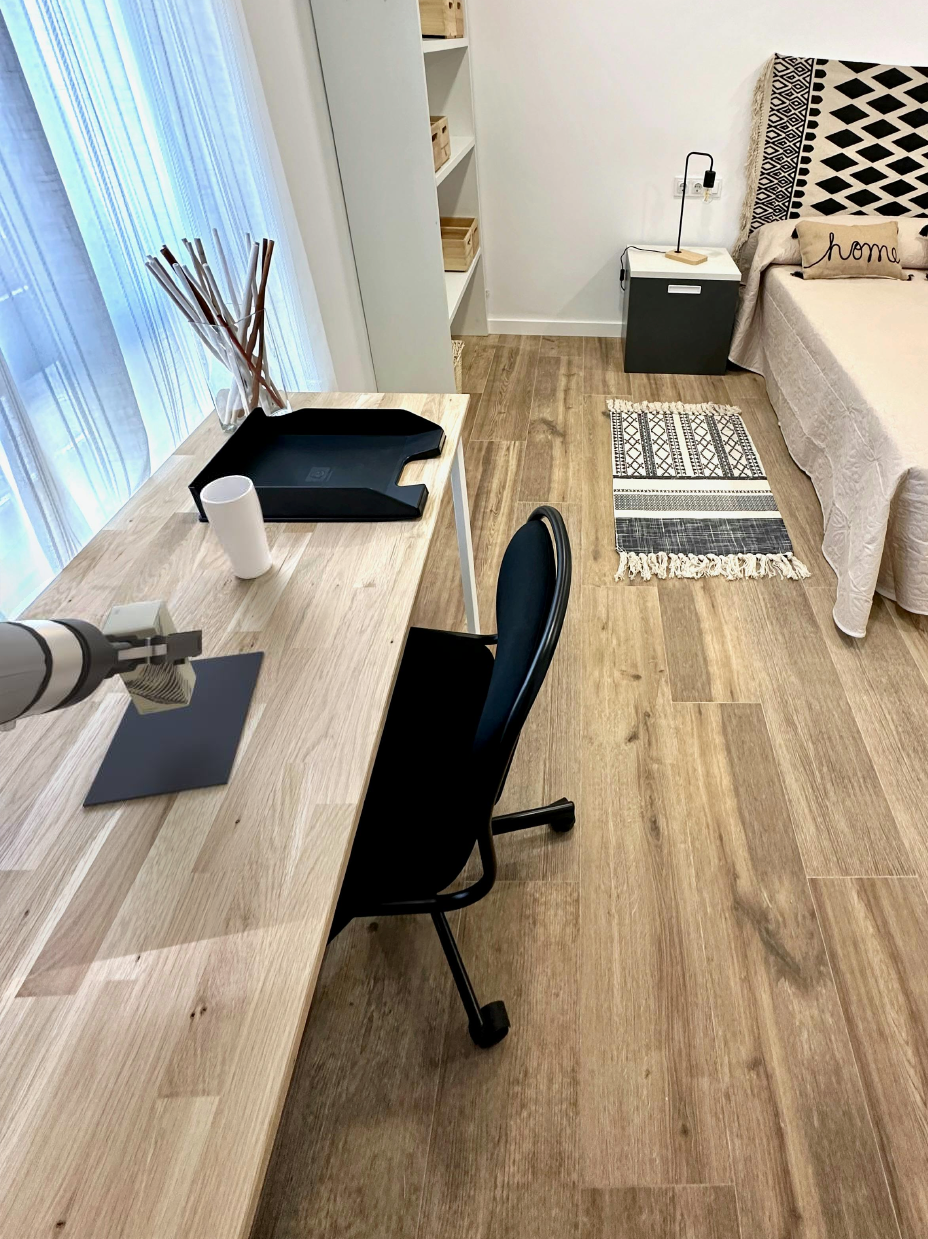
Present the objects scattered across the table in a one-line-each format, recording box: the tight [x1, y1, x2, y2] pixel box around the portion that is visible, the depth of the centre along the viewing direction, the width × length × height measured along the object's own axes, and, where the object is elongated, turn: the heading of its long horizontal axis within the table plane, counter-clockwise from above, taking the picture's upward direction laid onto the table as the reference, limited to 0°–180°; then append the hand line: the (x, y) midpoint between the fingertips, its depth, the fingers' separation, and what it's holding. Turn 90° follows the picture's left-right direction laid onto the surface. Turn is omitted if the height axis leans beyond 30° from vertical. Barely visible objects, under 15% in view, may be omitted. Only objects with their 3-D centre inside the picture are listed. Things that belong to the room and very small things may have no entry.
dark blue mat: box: [82, 650, 265, 808], centre depth 78 cm, size 14×18×1 cm
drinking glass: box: [199, 475, 273, 580], centre depth 95 cm, size 7×7×15 cm
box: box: [100, 599, 196, 714], centre depth 71 cm, size 5×4×13 cm
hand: (169, 645), depth 76 cm, fingers closed on box, 5 cm apart
